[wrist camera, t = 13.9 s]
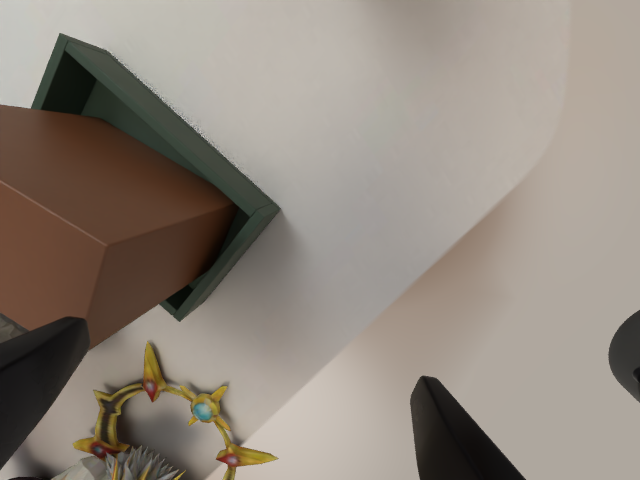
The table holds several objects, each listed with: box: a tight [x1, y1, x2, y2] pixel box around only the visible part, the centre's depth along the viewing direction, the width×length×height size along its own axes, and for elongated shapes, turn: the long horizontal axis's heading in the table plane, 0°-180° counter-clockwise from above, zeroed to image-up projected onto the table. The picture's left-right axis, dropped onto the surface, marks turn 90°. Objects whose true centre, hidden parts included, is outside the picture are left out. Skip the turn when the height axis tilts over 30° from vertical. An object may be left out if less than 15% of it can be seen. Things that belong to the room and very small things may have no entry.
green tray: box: [31, 33, 281, 322], centre depth 19 cm, size 15×10×3 cm, turn 49°
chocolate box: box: [0, 105, 239, 351], centre depth 16 cm, size 11×6×10 cm, turn 61°
